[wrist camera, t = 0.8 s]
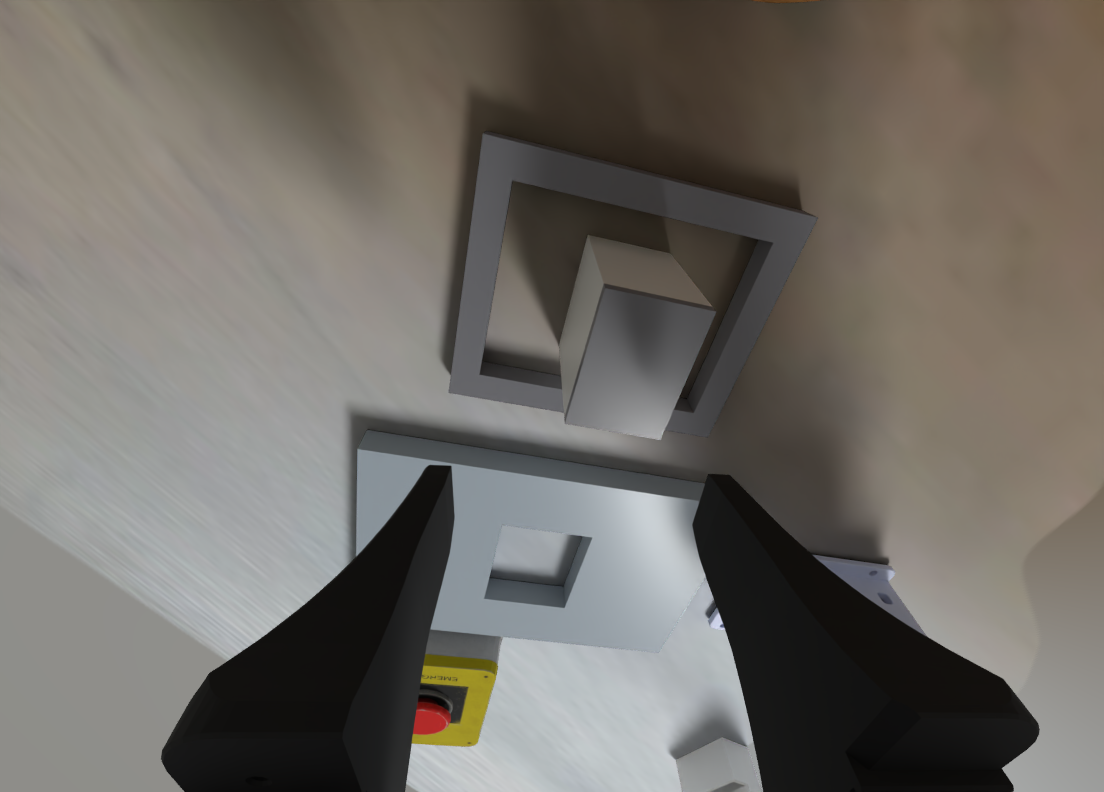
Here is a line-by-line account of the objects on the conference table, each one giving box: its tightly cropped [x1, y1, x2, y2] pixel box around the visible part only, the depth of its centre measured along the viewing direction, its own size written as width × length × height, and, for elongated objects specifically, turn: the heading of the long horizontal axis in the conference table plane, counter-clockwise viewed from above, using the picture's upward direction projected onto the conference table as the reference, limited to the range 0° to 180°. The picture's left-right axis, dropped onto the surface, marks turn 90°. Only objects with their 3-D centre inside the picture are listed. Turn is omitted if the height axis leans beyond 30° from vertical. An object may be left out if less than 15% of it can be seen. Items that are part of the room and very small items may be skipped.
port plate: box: [356, 430, 706, 653], centre depth 28 cm, size 20×14×2 cm
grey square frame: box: [449, 131, 818, 438], centre depth 20 cm, size 12×10×1 cm
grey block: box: [559, 235, 716, 440], centre depth 18 cm, size 4×5×6 cm
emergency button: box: [412, 629, 503, 747], centre depth 35 cm, size 9×4×15 cm
